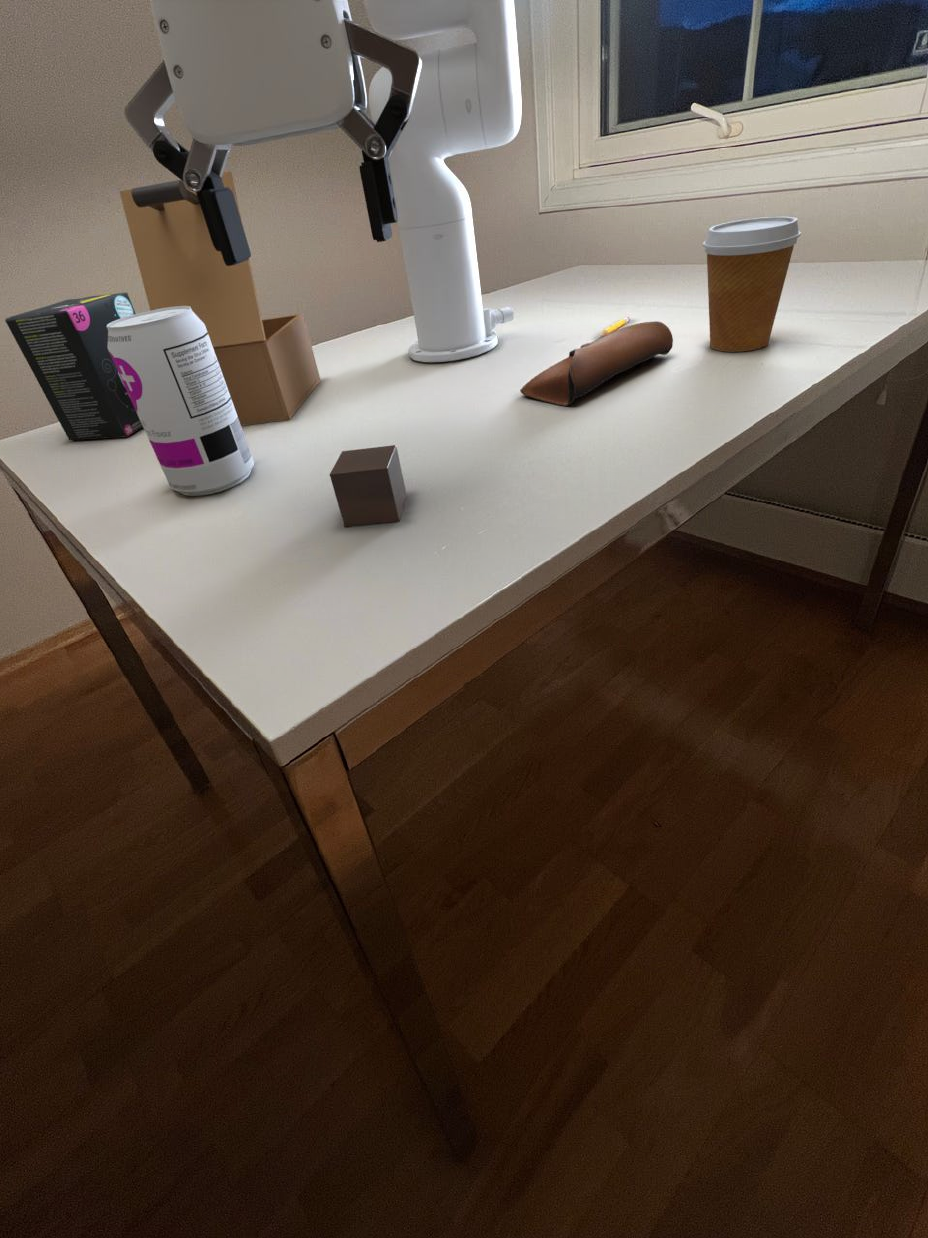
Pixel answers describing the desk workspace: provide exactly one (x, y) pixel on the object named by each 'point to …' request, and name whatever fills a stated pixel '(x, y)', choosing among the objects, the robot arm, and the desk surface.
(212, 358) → the supplement can
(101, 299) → the tampon box
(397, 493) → the block
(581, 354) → the sunglasses case
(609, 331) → the pencil
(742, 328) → the disposable coffee cup
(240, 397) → the carton
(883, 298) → the desk surface
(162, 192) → the flap
